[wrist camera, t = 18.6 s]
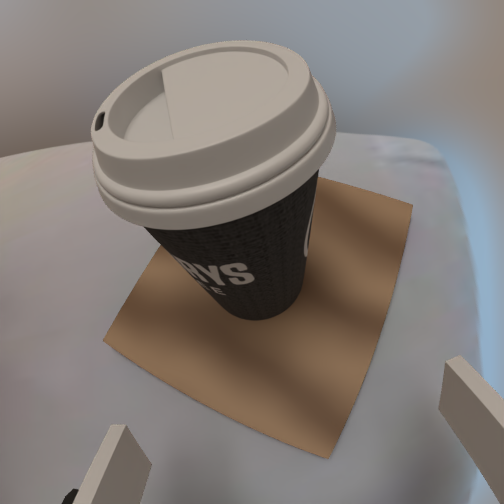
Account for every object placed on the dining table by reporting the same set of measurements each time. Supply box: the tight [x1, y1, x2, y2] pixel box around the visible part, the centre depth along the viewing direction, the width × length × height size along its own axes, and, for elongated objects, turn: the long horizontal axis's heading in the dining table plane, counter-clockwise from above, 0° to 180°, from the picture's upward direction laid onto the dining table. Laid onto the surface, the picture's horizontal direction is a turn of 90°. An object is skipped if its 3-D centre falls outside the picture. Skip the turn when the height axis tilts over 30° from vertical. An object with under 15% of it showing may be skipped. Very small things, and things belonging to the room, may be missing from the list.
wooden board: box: [103, 177, 413, 459], centre depth 23 cm, size 20×18×2 cm
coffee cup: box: [91, 41, 336, 321], centre depth 16 cm, size 10×10×15 cm
